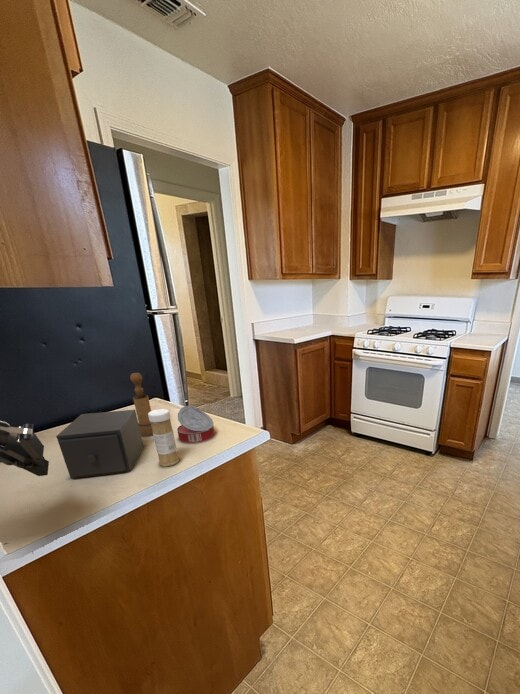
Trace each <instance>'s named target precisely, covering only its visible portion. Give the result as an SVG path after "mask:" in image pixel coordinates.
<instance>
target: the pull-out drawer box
mask: <svg viewBox="0 0 520 694" xmlns="http://www.w3.org/2000/svg"><path fill="white" fill-rule="evenodd" d="M59 445H60V446H59ZM58 446H59V449H60V448H61V449H60V452H61V451H62V452H61V454H62V457H63V460H64V464H65V465H66V466H65V467H66V469H67V472H68V475H69V477H76V476H85V475H93V474H101V473H109V472H118V471H126V469H127V467H126V463H125V459H124V455H123V452H122V448H121V444H120V440H119V436H118V434H117V433H116V434H106V435H96V436H86V437H76V438H67V439H62V440H60V441H59V443H58Z"/></svg>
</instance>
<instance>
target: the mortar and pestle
mask: <svg viewBox="0 0 520 694" xmlns="http://www.w3.org/2000/svg"><path fill="white" fill-rule="evenodd" d="M129 379H130V381H131V382H132V384H133V385H134V388H133V390H134V393H135V394H136V395H135V396H133V397H132V400H133V405H134V407H135V408H134V409H135V411H136V415H137V419H138V424H139V428H140V432H141V436H142V438H143V437H144V438H145V437H151V436H153V430H152V426H151V423H150V421H149V417H148V413H149V412H151V411H152V409H151V403H150V398H149V395H147V394H144V388H143V387H142V381H143V376H142V374H141V373H140V372H133V373H130V376H129Z"/></svg>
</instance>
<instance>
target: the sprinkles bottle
mask: <svg viewBox="0 0 520 694" xmlns="http://www.w3.org/2000/svg"><path fill="white" fill-rule="evenodd" d="M148 417H149V421H150V423H151V426H152V430H153V435H152V436H153V440H154V441H153V442H154V445H155V448H156V450H155V451H156V453H157V457H158V460H159V461H158V462H159V466H162V467H171V466H174V465H176V464H178V463H179V461H180V459H179V455H178V452H177V443H176V439H175V434H174V429H173V427H172V421H171V411H170V410H169V409H167V408H158V409H153V410H151V412H149V413H148Z"/></svg>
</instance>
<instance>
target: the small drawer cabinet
mask: <svg viewBox="0 0 520 694" xmlns="http://www.w3.org/2000/svg"><path fill="white" fill-rule="evenodd" d="M138 423H139V421H138V417H137V412H136V409H125V410H112V411H104V412H103V411H102V412H101V411H100V412H92V413H82V414H80V415H79V416H77V417H76V418H75V419H74V420H73V421H72V422H70V423H69V424H67V426H66V427H65V428H64V429H62V430H61V431H60V432H59V433H58V434H56V436H55V437H56V439H57V442H58V446H59V449H60V452H61V453H62V451H61V448H60V445H59V441H60V440H62V439H67V438H76V437H86V436H96V435H106V434H116V433H117V434H118V436H119V440H120V444H121V448H122V452H123V455H124V459H125V463H126V467H127V469H126V471H118V472H109V473H101V474H93V475H85V476H76V477H70V476H69V477H70V479H79V478H87V477H95V476H103V475H110V474H111V475H112V474H119V473H128V472H131V471H132V469H133V468H134V466H135V464H136V462H137V460H138V458H139V456H140V454H141V453H142V451H143V449H144V447H145V445H144V444H145V443H144V440H143V437H142V436H141V432H140V428H139V424H138Z"/></svg>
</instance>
